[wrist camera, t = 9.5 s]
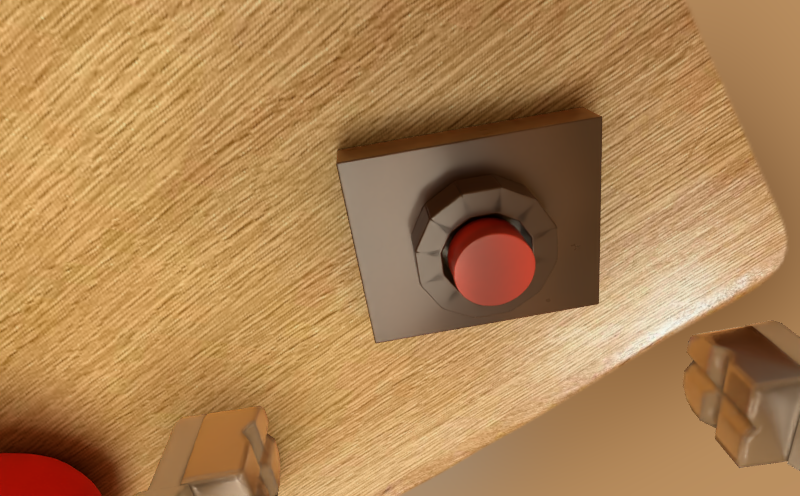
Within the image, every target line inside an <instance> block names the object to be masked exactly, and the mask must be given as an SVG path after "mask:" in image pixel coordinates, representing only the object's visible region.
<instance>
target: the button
mask: <svg viewBox="0 0 800 496" xmlns="http://www.w3.org/2000/svg"><path fill="white" fill-rule="evenodd" d="M447 258H448V265H449V268H450V270H451V273H452V276H453V279H454V282H455V285H456V287H457V289H458V291H459V292H460V293H461V294H462V295H463V296H464V297H465V298H466V299H468V300H469V301H471V302H473V303H476V304H479V305H484V306H496V305H501V304H505V303H507V302H510V301H512V300H514V299H515V298H517V297H518V296H519V295H521V294H522V293H523V292H524V291H525V290H526V289H527V287H528V286H529V285H530V283H531V281H532V279H533V276H534V273H535V265H536V263H535V257H534V253H533V251H532V249H531V248H530V246H529V245H528V243H527V242H526V240H525V239H524V238H523V236H522V235H521V233H520V232H519V230H518V229H517V228H516V227H515V226H514V225H512V224H511V223H509V222H508V221H505V220H503V219H499V218H482V219H477V220H475V221H472V222H470V223H468V224H467V225H465V226H464V227H462V228H461V229H460V230H459V231H458V232H457V233H456V235H455V236H454V237H453V239H452V241H451V243H450V245H449V249H448V255H447Z"/></svg>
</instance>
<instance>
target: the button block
mask: <svg viewBox="0 0 800 496" xmlns="http://www.w3.org/2000/svg"><path fill="white" fill-rule="evenodd" d="M601 157H602V116H600V115H598V114H596V113H594V112H592V111H590V110H588V109H586V108H584V107H579V108H574V109H568V110H562V111H557V112H551V113H545V114H539V115H534V116H528V117H522V118H517V119H511V120H505V121H499V122H494V123H488V124H482V125H477V126H471V127H465V128H459V129H454V130H448V131H442V132H437V133H431V134H425V135H420V136H414V137H408V138H402V139H397V140H391V141H385V142H380V143H374V144H368V145H362V146H357V147H351V148H345V149H340V150H338V151H337V162H336V165H337V170H338V174H339V179H340V183H341V188H342V193H343V197H344V202H345V206H346V211H347V215H348V220H349V225H350V229H351V234H352V238H353V243H354V248H355V252H356V257H357V261H358V266H359V271H360V275H361V280H362V284H363V289H364V294H365V298H366V303H367V307H368V312H369V316H370V321H371V326H372V330H373V335H374V339H375V343H380V342H386V341H392V340H397V339H403V338H409V337H414V336H420V335H426V334H431V333H437V332H443V331H448V330H454V329H460V328H465V327H471V326H477V325H482V324H488V323H494V322H499V321H505V320H511V319H516V318H522V317H528V316H533V315H539V314H545V313H550V312H556V311H562V310H567V309H573V308H579V307H584V306H590V305H596V304H599V263H600V210H601ZM482 218H499V219H503V220H505V221H508V222H509V223H511V224H512V225H514V226H515V227H516V228H517V229H518V230H519V232H520V233H521V235H522V236H523V238H524V239H525V240H526V242H527V243H528V245H529V246H530V248H531V249H532V251H533V253H534V257H535V263H536V265H535V273H534V276H533V279H532V281H531V283H530V285H529V286H528V287H527V289H526V290H525V291H524V292H523V293H522V294H521V295H519V296H518V297H517V298H515V299H514V300H512V301H510V302H507V303H505V304H501V305H496V306H484V305H479V304H476V303H473V302H471V301H469V300H468V299H466V298H465V297H464V296H463V295H462V294H461V293H460V292H459V291H458V289H457V287H456V285H455V282H454V279H453V276H452V273H451V270H450V268H449V265H448V258H447V255H448V249H449V245H450V243H451V241H452V239H453V237H454V236H455V235H456V233H457V232H458V231H459V230H460V229H461V228H462V227H464V226H465V225H467V224H468V223H470V222H472V221H475V220H477V219H482Z"/></svg>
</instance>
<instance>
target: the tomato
mask: <svg viewBox="0 0 800 496" xmlns="http://www.w3.org/2000/svg"><path fill="white" fill-rule="evenodd" d="M0 496H102V495H101V493H100V491H99V490H98V489H97V487H96V486H95V485H94V484H93V482H92V481H91V480H89V479H88V478H87V477H86V476H85V475H84V474H82V473H81V472H79V471H78V470H76V469H75V468H73V467H72V466H70V465H69V464H67V463H65V462H62V461H60V460H57V459H55V458H51V457H47V456H43V455H36V454H28V453H0Z"/></svg>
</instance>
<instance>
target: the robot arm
mask: <svg viewBox="0 0 800 496" xmlns="http://www.w3.org/2000/svg"><path fill="white" fill-rule="evenodd" d="M687 353H688V355H689V356H690V357H691V358H692V359H693V362H692V363H691V364H690V365H689V366H688V367H687V368H686V370H685V371H684V379H683V387H684V391H685V395H686V399H687V401H688V403H689V405H690V407H691V409H692V411H693V412H694V413H695V414H696V416H697V417H698V418H699V420H700V421H703V422H704V423H706V424H708V425H711V426H713V427H715V428H716V434H715V439H716V440H717V442H718V443H719V444H720V445H721V447H722V448H723V449H724V450H725V451H726V453H727V454H728V455H729V456H730V457H731V458H732V460H733V461H734V462H735V464H736V465H737V466H738V467H739V468H742V467H749V466H756V465H763V464H771V463H778V462H785V461H788V464H789V465H791V466H792V467H794V468H796V469H798V470H799V471H800V337H799V336H798V335H796V334H795V333H794V332H792V331H791V330H790V329H788V328H787V327H786V326H784V325H783V324H782V323H780V322H776V321H773V320H771V321H766V322H760V323H755V324H749V325H745V326H741V327H735V328H729V329H724V330H718V331H712V332H706V333H700V334H695V335H692V337H691V338H690V340H689V341H688V347H687ZM268 424H269V420H268V417H267V415H266V412H265V409H264V408H263V407H261V406H256V407H248V408H241V409H234V410H227V411H220V412H213V413H208V414H202V415H195V416H188V417H182V418H180V419H179V420H178V421H177V422H176V423H175V425H174V428H173V430H172V433H171V435H170V438H169V440H168V442H167V445H166V447H165V450H164V452H163V454H162V457H161V459H160V462H159V464H158V467H157V469H156V471H155V474H154V476H153V479H152V481H151V484H150V486H149V488H148V491H144V492H139V493H138V494H137V495H136V496H275V494H276V493H277V492H278V491H279V484H280V457H279V452H278V447H277V444H276V441H275V439H274V438H273V437H271V436H270V435H268V434H267V429H268Z"/></svg>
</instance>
